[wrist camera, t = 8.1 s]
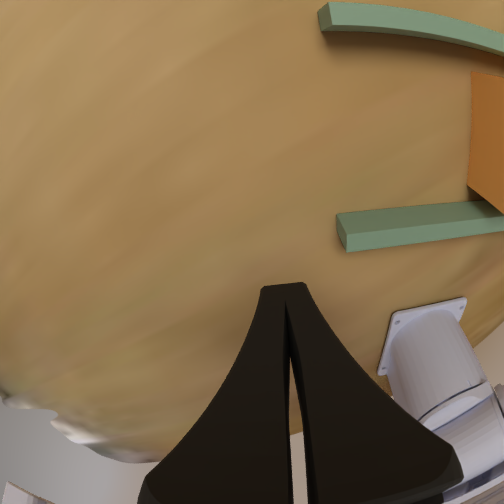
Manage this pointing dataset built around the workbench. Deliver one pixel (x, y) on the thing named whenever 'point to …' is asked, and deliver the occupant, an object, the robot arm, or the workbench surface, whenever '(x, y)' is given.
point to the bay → (423, 216)
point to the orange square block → (487, 138)
